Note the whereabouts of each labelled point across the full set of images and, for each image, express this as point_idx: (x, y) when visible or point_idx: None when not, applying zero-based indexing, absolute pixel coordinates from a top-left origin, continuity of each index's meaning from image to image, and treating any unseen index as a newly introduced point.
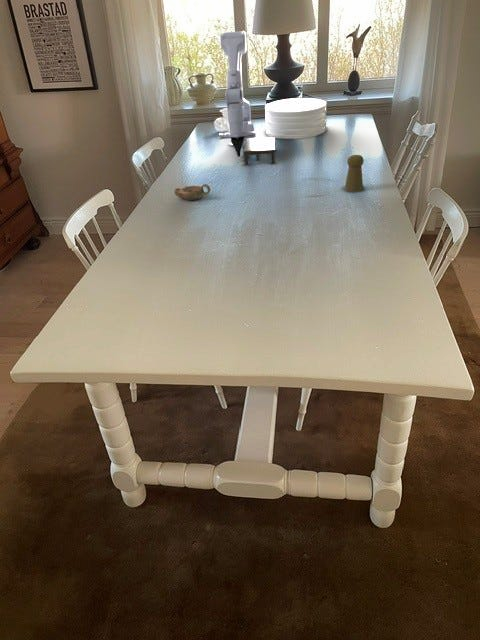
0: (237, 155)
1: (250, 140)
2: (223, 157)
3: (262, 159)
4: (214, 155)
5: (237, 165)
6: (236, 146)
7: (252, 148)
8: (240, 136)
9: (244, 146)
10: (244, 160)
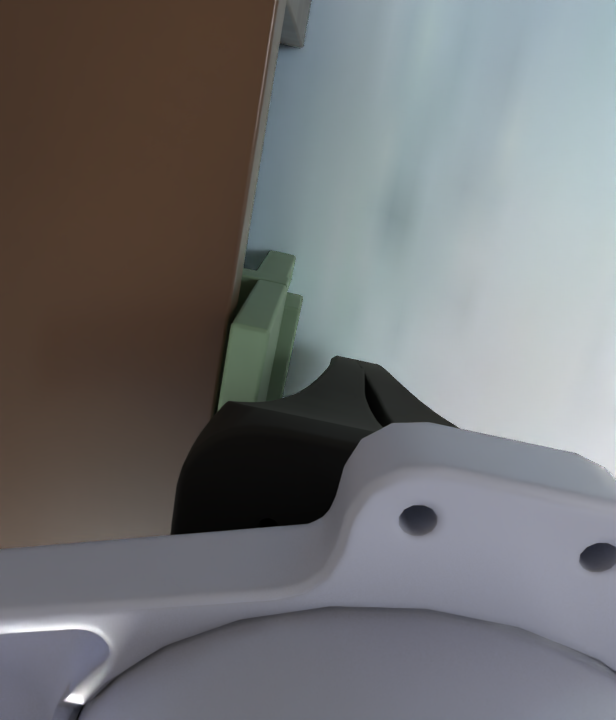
0: (380, 367)
1: None
2: None
3: None
4: None
5: (441, 57)
6: (413, 420)
7: (12, 60)
8: (280, 527)
9: None
10: (284, 253)
